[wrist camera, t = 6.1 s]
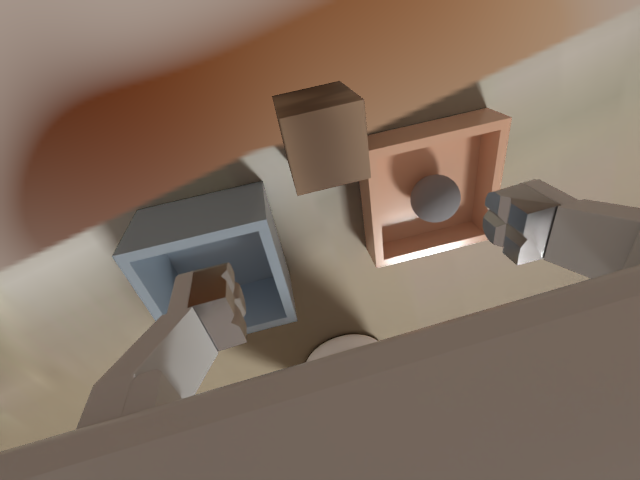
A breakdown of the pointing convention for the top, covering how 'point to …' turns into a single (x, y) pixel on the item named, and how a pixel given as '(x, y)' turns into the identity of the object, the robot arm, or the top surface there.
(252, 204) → the grey open box
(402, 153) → the dish
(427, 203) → the ball
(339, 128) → the block
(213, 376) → the top surface
